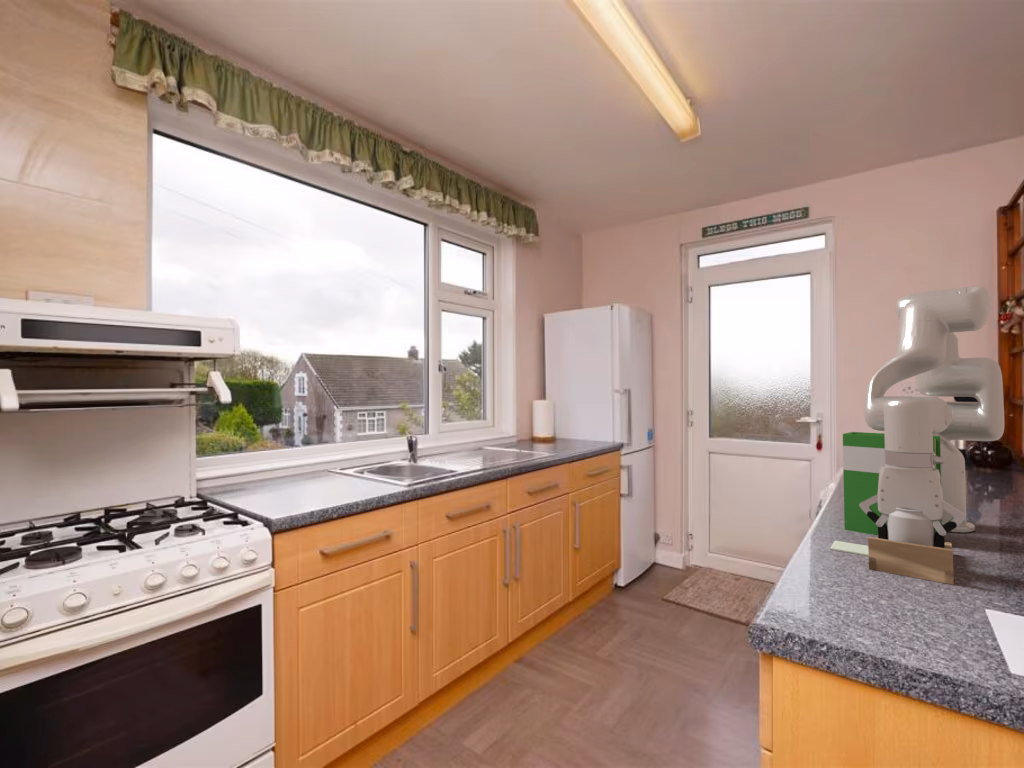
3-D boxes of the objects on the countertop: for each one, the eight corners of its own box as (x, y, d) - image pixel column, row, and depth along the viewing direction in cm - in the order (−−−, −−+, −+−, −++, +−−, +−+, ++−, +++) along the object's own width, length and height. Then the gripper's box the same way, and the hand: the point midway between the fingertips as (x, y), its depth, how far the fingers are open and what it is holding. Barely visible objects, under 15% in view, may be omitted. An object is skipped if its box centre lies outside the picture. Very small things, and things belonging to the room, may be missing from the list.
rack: (879, 542, 113) (878, 516, 113) (951, 554, 105) (951, 525, 105) (868, 569, 97) (868, 538, 97) (953, 584, 89) (952, 551, 89)
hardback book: (942, 539, 115) (940, 436, 116) (936, 545, 110) (933, 438, 111) (853, 524, 129) (851, 431, 129) (844, 529, 124) (842, 433, 124)
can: (936, 566, 98) (935, 505, 98) (934, 576, 92) (933, 512, 93) (889, 557, 103) (888, 500, 103) (884, 567, 98) (883, 506, 98)
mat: (835, 541, 114) (835, 540, 114) (872, 547, 110) (872, 546, 110) (829, 549, 109) (829, 547, 109) (868, 556, 104) (868, 554, 104)
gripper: (967, 462, 95) (969, 554, 95) (857, 455, 107) (859, 537, 106) (969, 466, 90) (971, 564, 89) (853, 459, 101) (854, 545, 101)
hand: (910, 549), depth 98 cm, fingers closed on can, 7 cm apart
